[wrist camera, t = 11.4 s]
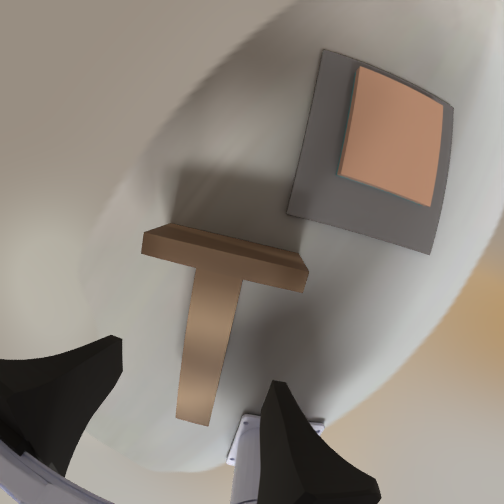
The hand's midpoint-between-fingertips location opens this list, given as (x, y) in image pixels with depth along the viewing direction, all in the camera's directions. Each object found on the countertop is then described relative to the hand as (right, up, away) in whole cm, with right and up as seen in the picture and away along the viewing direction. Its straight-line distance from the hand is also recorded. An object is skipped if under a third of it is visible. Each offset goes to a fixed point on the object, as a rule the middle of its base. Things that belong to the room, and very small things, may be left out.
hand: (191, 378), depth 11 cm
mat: (+12, +13, +5) cm, 18 cm away
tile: (+12, +10, +5) cm, 16 cm away
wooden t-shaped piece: (0, 0, +9) cm, 9 cm away
